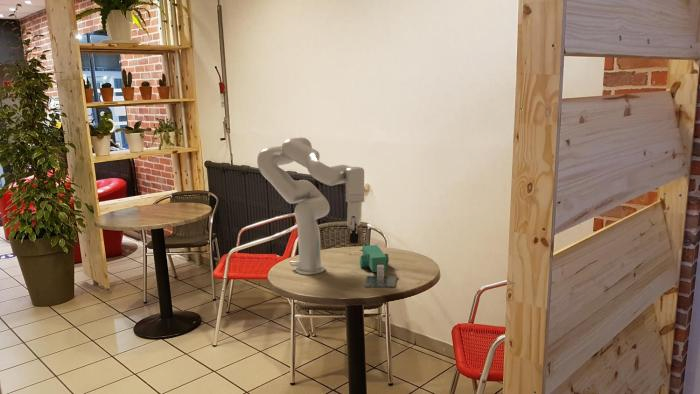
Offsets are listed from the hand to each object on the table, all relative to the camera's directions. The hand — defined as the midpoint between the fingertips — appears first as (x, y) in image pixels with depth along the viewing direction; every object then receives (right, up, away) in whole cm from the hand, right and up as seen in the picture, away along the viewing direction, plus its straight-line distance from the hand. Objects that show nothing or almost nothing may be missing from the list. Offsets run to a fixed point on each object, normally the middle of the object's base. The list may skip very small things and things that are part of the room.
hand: (354, 240), depth 215 cm
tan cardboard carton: (0, -1, 0) cm, 1 cm away
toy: (+8, -13, +20) cm, 25 cm away
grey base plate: (+10, -17, -3) cm, 20 cm away
